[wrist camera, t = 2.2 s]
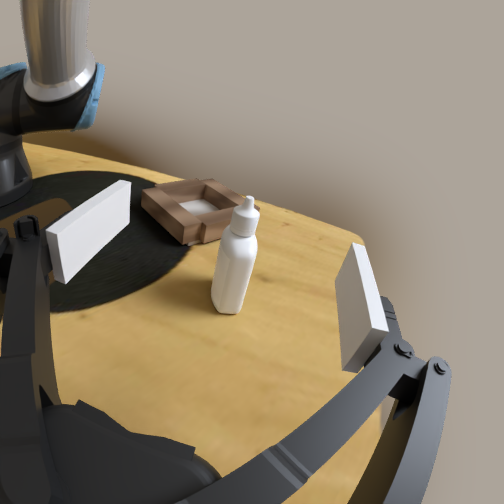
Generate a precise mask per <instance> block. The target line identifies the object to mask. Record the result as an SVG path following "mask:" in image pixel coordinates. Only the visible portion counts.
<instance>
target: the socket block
mask: <svg viewBox="0 0 504 504" xmlns="http://www.w3.org/2000/svg"><path fill="white" fill-rule="evenodd" d="M244 201H245V198H243V197H242V196H240V195H238V194H237V193H235V192H233V191H232V190H230V189H228V188H227V187H225V186H224V185H222V184H220V183H218V182H217V181H215V180H214V179H207V180H199V179H197V178H196V179H189V180H182V181H175V182H169V183H163V184H157V185H154V188H150V189H144V190H142V200H141V206H142V207H143V208H144V209H145V210H146V211H147V212H148V213H149V214H150V215H151V216H152V217H153V218H154V219H155V220H156V221H157V222H159V223H160V224H161V225H162V226H163V227H164V228H165V229H166V230H167V231H168V232H169V233H170V234H171V235H172V236H173V237H175V238H176V239H177V240H178V241H179V242H180V243H181V244H182V245H183V244H187V245H188V246H190V245H193V244H196V243H200V242H202V243H207V242H210V241H213V240H216V239H220V238H221V236H222V233H223V231H224V229H225V228H226V227H227V226H228V225H230V223H231V218H232V214H233V209H234V208H235V207H236V206H239V205H243V203H244ZM254 209H256V210H257V211H258V212H259V210H260V208H259V207H258V206H256V205H255V204H254Z"/></svg>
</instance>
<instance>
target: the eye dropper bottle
mask: <svg viewBox="0 0 504 504" xmlns="http://www.w3.org/2000/svg"><path fill="white" fill-rule="evenodd" d="M259 216H260V214H259V212H258V211H257V210H256V209H254V198H253V197H252V196H246V198H245V201H244V203H243V205H239V206H236V207H235V208H234V209H233V214H232V218H231V223H230V225H228V226H227V227H226V228H225V229H224V231H223V233H222V236H221V241H220V246H219V251H218V256H217V261H216V266H215V271H214V276H213V282H212V287H211V298H212V301H213V304H214V306H215V308H216V309H217V311H219V312H220V313H226V314H237V313H239V312H240V310H241V307H242V304H243V300H244V297H245V293H246V290H247V286H248V283H249V279H250V276H251V272H252V269H253V265H254V262H255V258H256V254H257V240H256V237H255V231H256V227H257V223H258V220H259Z"/></svg>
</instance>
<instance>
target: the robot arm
mask: <svg viewBox="0 0 504 504" xmlns="http://www.w3.org/2000/svg"><path fill="white" fill-rule="evenodd" d="M89 5H90V0H20V11H21V20H22V28H23V34H24V41H25V46H26V52H27V57H28V62H29V67H28V69H27V66H26V63H25V62H20V63H16V64H11V65H8V66H4V67H1V68H0V207H1V206H4V205H7V204H9V203H12V202H14V201H16V200H18V199H19V198H21V197H22V196H24V195H25V194H26V193H27V192H29V190H30V189H31V188H32V185H33V180H32V172H31V169H30V166H29V164H28V161H27V158H26V155H25V153H24V150H23V146H22V135H24V134H32V133H42V132H55V131H75V130H82V129H88V128H89V127H91V125H93V122H94V120H95V115H96V111H97V106H98V100H99V96H100V92H101V87H102V82H103V77H104V72H105V66H104V65H103V64H99V63H95V58H94V55H93V54H92V52H91V51H90V50H89V49H87V48H86V41H87V26H88V14H89ZM130 189H131V182H127V181H123V180H119V181H118V182H116V183H114V184H113V185H111V186H109V187H108V188H106V189H105V190H103V191H101V192H100V193H98V194H97V195H95V196H94V197H92V198H91V199H89V200H87V201H86V202H84V203H83V204H81V205H80V206H79V207H77V208H76V209H73V210H70V211H68V212H65V213H64V214H62V215H61V216H59V218H56V219H55V220H54V221H52V222H51V223H50V224H48V225H47V226H45V227H44V228H43V229H41V230H39V224H38V218H37V217H36V216H34V215H26V216H22V217H20V218H18V219H17V220H16V221H15V222H14V229H15V234H16V238H9V236H8V231H7V229H5V228H0V322H1V319H2V316H3V327H2V343H1V357H0V504H281V503H282V502H284V501H285V500H286V499H287V498H289V497H290V496H291V495H292V494H294V493H295V492H296V491H297V490H298V489H299V488H301V487H302V486H303V485H304V484H305V483H306V482H307V480H308V478H309V477H310V476H311V475H313V474H314V473H315V472H316V471H317V470H318V469H319V468H320V467H321V466H322V465H323V464H325V463H326V462H327V461H328V460H329V459H330V458H331V457H332V456H333V455H334V454H335V453H336V452H337V451H338V450H339V449H340V448H341V447H342V446H343V445H344V444H345V443H346V442H347V441H348V440H349V439H350V437H351V436H352V435H353V434H354V433H355V432H356V431H357V430H358V429H359V428H360V427H361V425H362V424H363V423H364V422H365V421H366V420H367V419H368V418H369V416H370V415H371V414H372V413H373V412H374V410H375V409H376V408H377V407H378V406H379V404H380V403H381V402H382V401H383V399H384V398H385V397H386V396H387V395H389V396H391V397H393V398H395V401H394V404H393V407H392V410H391V412H390V415H389V418H388V421H387V423H386V425H385V428H384V430H383V432H382V435H381V437H380V440H379V442H378V444H377V446H376V449H375V451H374V453H373V455H372V457H371V459H370V462H369V464H368V466H367V468H366V470H365V472H364V474H363V476H362V478H361V480H360V482H359V483H358V485H357V487H356V489H355V491H354V493H353V494H352V496H351V498H350V500H349V502H348V503H347V504H421V502H422V499H423V496H424V493H425V491H426V488H427V485H428V482H429V479H430V475H431V472H432V469H433V465H434V462H435V458H436V455H437V451H438V446H439V443H440V438H441V434H442V430H443V425H444V420H445V414H446V409H447V403H448V397H449V390H450V383H451V369H450V367H449V365H448V364H447V362H446V361H445V360H443V359H442V358H440V357H432V358H431V359H430V360H429V361H428V362H425V361H423V360H421V359H419V358H417V357H415V354H414V350H413V348H412V347H411V345H410V344H409V343H408V342H406V341H405V340H403V339H402V336H401V332H400V329H399V325H398V322H397V320H396V315H395V312H394V309H393V305H392V304H391V302H390V301H389V300H388V298H386V297H383V296H379V292H378V289H377V285H376V281H375V279H374V275H373V272H372V269H371V265H370V262H369V259H368V255H367V252H366V249H365V246H362V245H359V244H356V243H353V242H352V244H351V246H350V249H349V251H348V253H347V255H346V258H345V260H344V262H343V264H342V266H341V269H340V271H339V273H338V275H337V277H336V279H335V288H336V298H337V308H338V320H339V332H340V346H341V362H342V371H348V372H353V373H358V372H359V371H360V369H361V368H362V367H363V366H364V369H363V370H362V371H361V372H360V373H359V374H358V375H357V376H356V377H355V378H354V379H353V380H351V381H350V382H349V383H348V384H347V385H346V386H345V387H344V388H343V389H342V390H341V391H340V392H339V393H338V394H337V395H335V396H334V397H333V398H332V399H331V400H330V401H329V402H328V403H327V404H325V405H324V406H323V407H322V408H321V409H320V410H318V411H317V412H316V413H315V414H314V415H313V416H311V417H310V418H309V419H308V420H307V421H305V422H304V423H303V424H302V425H300V426H299V427H298V428H297V429H295V430H294V431H293V432H292V433H290V434H289V435H288V436H286V437H285V438H284V439H282V440H281V441H280V442H278V443H277V444H276V445H274V446H271V447H269V448H268V449H266V450H265V451H263V452H262V453H260V454H259V455H257V456H256V457H254V458H253V459H251V460H250V461H248V462H247V463H245V464H244V465H242V466H241V467H239V468H238V469H236V470H235V471H233V472H231V473H230V474H228V475H226V476H225V477H223V478H222V477H221V476H220V474H219V473H218V472H217V471H216V470H215V468H214V467H213V466H211V465H210V464H209V463H208V462H207V461H205V460H204V459H203V458H201V457H200V456H198V455H196V454H194V452H195V448H196V447H193V446H189V445H186V444H183V443H180V442H177V441H174V440H171V439H168V438H165V437H159V436H151V435H144V434H138V433H132V432H130V431H128V430H126V429H125V428H124V427H122V426H121V425H120V424H118V423H117V422H116V421H115V420H113V419H112V418H111V417H109V416H108V415H107V414H106V413H104V412H103V411H101V410H98V409H96V408H94V407H92V406H90V405H89V404H87V403H85V402H83V401H81V400H78V402H77V403H76V405H69V404H62V403H61V400H60V398H59V394H58V389H57V383H56V376H55V369H54V361H53V352H52V341H51V328H50V306H49V277H48V273H49V272H50V271H51V270H52V269H53V274H54V278H55V280H58V281H60V282H62V283H64V284H66V283H67V282H68V281H69V280H70V279H71V278H72V277H73V276H74V275H75V274H76V273H77V272H78V271H79V270H80V269H81V268H82V267H83V266H84V265H85V264H86V263H87V262H88V261H89V260H90V259H91V258H92V257H93V256H94V255H95V254H96V253H97V252H98V251H99V250H101V249H102V248H103V247H104V246H105V245H106V244H107V243H108V242H109V241H110V240H111V239H112V238H113V237H114V236H115V235H117V234H118V233H119V232H120V231H121V230H122V229H123V228H124V227H125V226H127V225H128V224H129V217H130ZM3 314H4V315H3Z"/></svg>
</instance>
